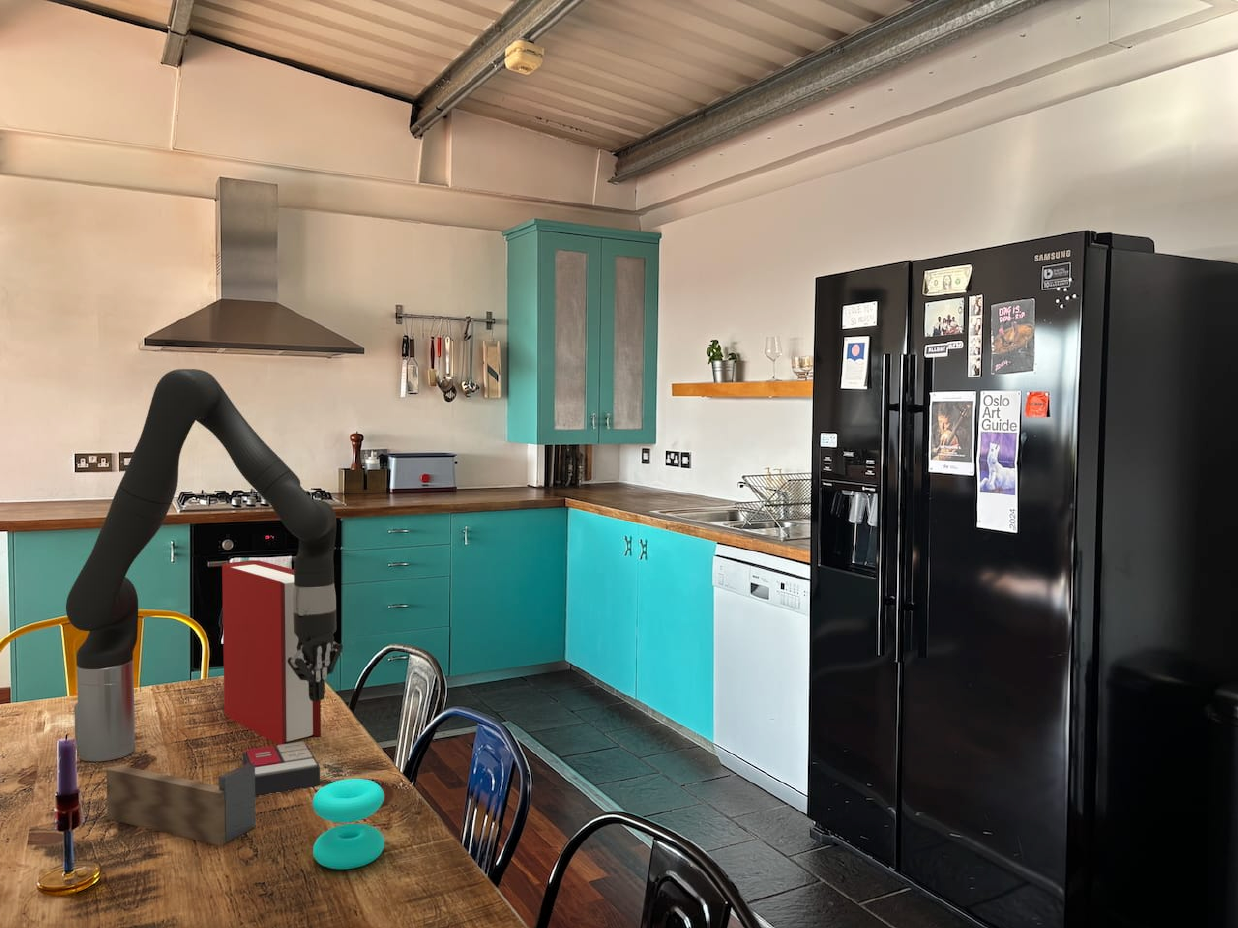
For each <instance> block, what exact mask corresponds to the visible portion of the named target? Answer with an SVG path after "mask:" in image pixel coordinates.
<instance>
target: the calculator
mask: <svg viewBox="0 0 1238 928" xmlns="http://www.w3.org/2000/svg"><path fill="white" fill-rule="evenodd" d="M247 763H253V764H255V796H258V797H260V796H259V795H264V796H266V795H265V794H269V793H275V794H277V793H276V792H281V793H284V792H283V791H287V792H289V791H288V790H293V791H296V790H295V789H298V790H301V789H300V788H304V789H309V788H308V787H310V788H315V786H316V787H320V786H321V766H320V764H319V763H318V761H317V760H316V758H315V756H314V754H313V753H312V752H311V750H310V748H309V747H308V745H307V744H306V743H305V742H304V741H296V742H289V743H285V744H282V745H277V744H276V747H274V745H270V746H264V747H258V748H249V749H246V750H245V752H243V753H242V766H243V765H245V764H247Z"/></svg>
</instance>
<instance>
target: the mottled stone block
mask: <svg viewBox="0 0 1238 928" xmlns="http://www.w3.org/2000/svg"><path fill="white" fill-rule="evenodd" d="M105 771H106V805H107V807H106V809H107V820H110V821H114V822H119V823H123V824H126V825H132V826H135V827H139V828H143V829H148V830H152V831H156V832H160V833H164V834H168V835H169V834H170V835H173V836H177V837H181V838H186V839H190V840H193V841H194V840H195V841H197V842H201V843H206V844H210V845H215V846H218V847H221V846H223V845H225V844H227V843H226V832H225V791H223V790H219V785H216V784H211V783H206V782H201V781H196V780H192V779H186V778H182V777H177V776H173V775H168V774H162V773H158V772H154V771H149V770H145V769H140V768H139V769H138V768H135V767H134V768H133V767H129V766H125V765H120V764H115V765H113V766H111V767H109V768H106V769H105Z"/></svg>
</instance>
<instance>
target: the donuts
mask: <svg viewBox="0 0 1238 928" xmlns="http://www.w3.org/2000/svg"><path fill="white" fill-rule="evenodd" d="M384 801H385V793H384V789H383V788H382V787H381V785H379V783H376V781H375V782H374V781H372V780H369V779H363V778H348V779H342V780H337V781H334V782H330V783H328V784H326V785H324V786H322V787H320V789H319V790H317V792H316V793H315V794H314V796H313V798H312V807H313V810H314V812H315V814H317V816H318V817H320V818H322V819H323V820H325V821H328V822H332V823H333V822H334V823H344V824H340V825H336V826H334V827H332V828H329V829H328V830H326V831H325V832H323V833H322V834H321V835H319V836H318V838H317V839H316V841H315V842H314V845H313V848H312V853H313V858H314V859H315V860H316V862H317V863H318V864H319V865H321V866H322V867H325V868H327V869H331V870H350V869H351V870H352V869H356V868H360V867H361V868H362V867H363V866H366V865H368V864H370V863H372V862H374V861H375V860H376V859H378V858H379V856H381V855H382V853H383V851H384V848H385V837H384V835H383V833H382V832H381V831H380V830H379V829H377V828H376V827H374V826H373V825H369V824H365V823H360V822H358V823H356V821H361V820H364V819H366V818H369V817H370V816H372V815H373V814H375V813H376V812H377V811H378V810H380V808H381V807H382V806H383V803H384ZM351 822H352V823H351ZM353 822H355V823H353Z"/></svg>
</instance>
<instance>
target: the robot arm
mask: <svg viewBox="0 0 1238 928" xmlns="http://www.w3.org/2000/svg"><path fill="white" fill-rule="evenodd" d="M195 422H197V423H199V424H200V425H202V426H203V427H204V428H205V429H206V430H208V431H209V432H210V433H212V435H214V437H215V438H216V439H217V440H218V441H219V442H220V444H221V445H222V446H223V448H224V449H225V450H226V452H227V454H228V455H229V458H231V460H232V463H233V464H234V465H235V467H236V469H237V471H238V472H239V473H240V475H241V476H242V477H243V478H244V479H245V480H246V481H247V483H249V485H250V486H251V487H252V488H253V489H254V490H255V491H256V492H257V493H258V494H259V495H260V496H261V497H262V498H263V499H264V500H265V501H266V502H267V503H269V505H270V506H271V508H272V510H273V511H274V512H275V514H276V516H277V517H278V518H279V520H280V521H281V522H282V524H283V526H285V528H287V530H288V531H289V532H290V533H291V534H292V535H293V536H295V537H296V538H298V550H297V554H296V556H295V558H294V564H293V570H294V595H293V609H294V633H295V635H296V636H297V637H298V644H297V653H296V654H295V656H294V657H289V658H288V664H289V665H290V667H291V668H292V669H293V671H294V672H295V673H296V675H297V676H298V677H299V679H300V680H307V681H308V684H309V698H310V700H311V701H317V702H318V701H320V700H321V701H322V700H324V699H325V696H326V684H325V683H326V679H327V676H328V675H330V674H333V671H334V670H335V668H336V665H337V663H338V660H339V657H340V655H341V653H342V650H343V647H344V645H343V644H342V643H337V642H336V641H335V637H334V634H335V633H336V631H337V595H336V588H335V570H334V568H335V565H334V552H335V546H336V545H335V544H336V538H337V537H336V534H337V516H336V512H335V510H334V508H333V506H332V505H331V504H329V503H328V502H327V501H325V500H323V499H313V498H312V497H310V495H309V494H308V493H307V492H306V490H305V489H304V488H303V487H302V486H301V480H300V478H299V477H298V475H297V474H296V473H295V472H294V471H293V470H292V469H291V468H290V467H289V466H288V465H287V464H286V463H285V461H284V460H282V459H281V458H280V457H279V455H277V453H275V452H274V451H273V449H271V447H270V446H269V445H267V443H266V442H265V441H264V440H263V438H261V437H260V435H259V434H258V433H257V432H256V431H255V430H254V429H253V428H252V426H251V425H250V424H249V422H248V421H247V419H245V418H244V416H243V415H242V414H241V412H240V411H239V410H238V409H237V407H236V405H235V404H234V403H233V401H232V400H231V399H230V397H229V396H228V394H227V393H226V391H225V390H224V388H223V387H222V386H221V384H220V383H219V382H218V380H217V379H216V378H215V376H213V375H212V374H210V373H209V372H207V371H205V370H202V369H198V368H191V369H190V368H182V369H181V368H179V369H174V370H171V371H169V372H167V373H166V374H164V375H163V376H162V377H161V378H160V379H159V381H158V382H157V384H156V386H155V388H154V391H153V394H152V398H151V401H150V404H149V408H148V411H147V415H146V419H145V422H144V426H143V428H142V431H141V434H140V436H139V437H140V438H139V439H138V442H137V443H136V446H135V448H134V450H133V452H132V455H131V458H130V460H129V462H128V465H127V466H126V469H125V471H124V474H123V476H122V477H121V480H120V482H119V483H118V486H117V489H116V491H115V494H114V497H113V499H112V502H111V505H110V506H109V509H108V512H107V514H106V517H105V519H104V522H103V523H102V526H101V528H100V531H99V534H98V536H97V538H96V540H95V543H94V545H93V548H92V550H91V552H90V555H89V556H88V558H87V560H86V561H85V563H84V565H83V567H82V569H81V571H80V572H79V574H78V575H77V578H76V580H75V581H74V583H73V584H72V586H71V588H70V591H69V593H68V595H67V598H66V602H65V613H66V617H67V620H68V621H69V623H70V624H71V625H72V626H73V627H74V628H75V629H77V630H79V631H83V632H88V635H87V637H86V639H85V640H84V642H83V643H82V644H81V646H80V647H79V648H78V650H77V651H76V684H77V685H76V689H77V693H76V694H77V703H75V704H74V711H73V712H74V742H75V741H76V743H77V756H78V758H79V759H80V760H81V761H85V762H104V761H106V762H107V761H111V760H116V759H121V758H124V757H126V756H129V755H130V754H131V753H133V752H135V750H136V734H135V733H136V732H135V728H136V726H135V723H136V722H135V688H134V687H135V686H134V682H135V679H134V649H135V647H136V644H137V642H138V633H139V632H138V630H139V598H138V593H137V590H136V587H135V585H134V584H133V582H132V581H131V580H130V579H129V578H127V576H126V575H127V573H128V572H129V570H130V568H131V566H132V564H133V563H134V561H135V560H136V558H138V556H139V555H140V554H141V552H142V551H143V550H144V549H145V548H146V546H147V545H148V544H149V543H150V542H151V540H152V539H154V537H155V535H156V534H157V533H158V531H160V528H161V527H162V525H163V523H164V522H165V519H166V517H167V514H168V513H169V510H170V507H171V505H172V504H173V500H174V498H175V495H176V491H177V487H178V483H179V462H180V461H179V460H180V457H181V452H182V448H183V446H184V443H185V442H186V439H187V437H188V435H189V433H190V431H191V429H192V427H193V425H194V424H195Z"/></svg>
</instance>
